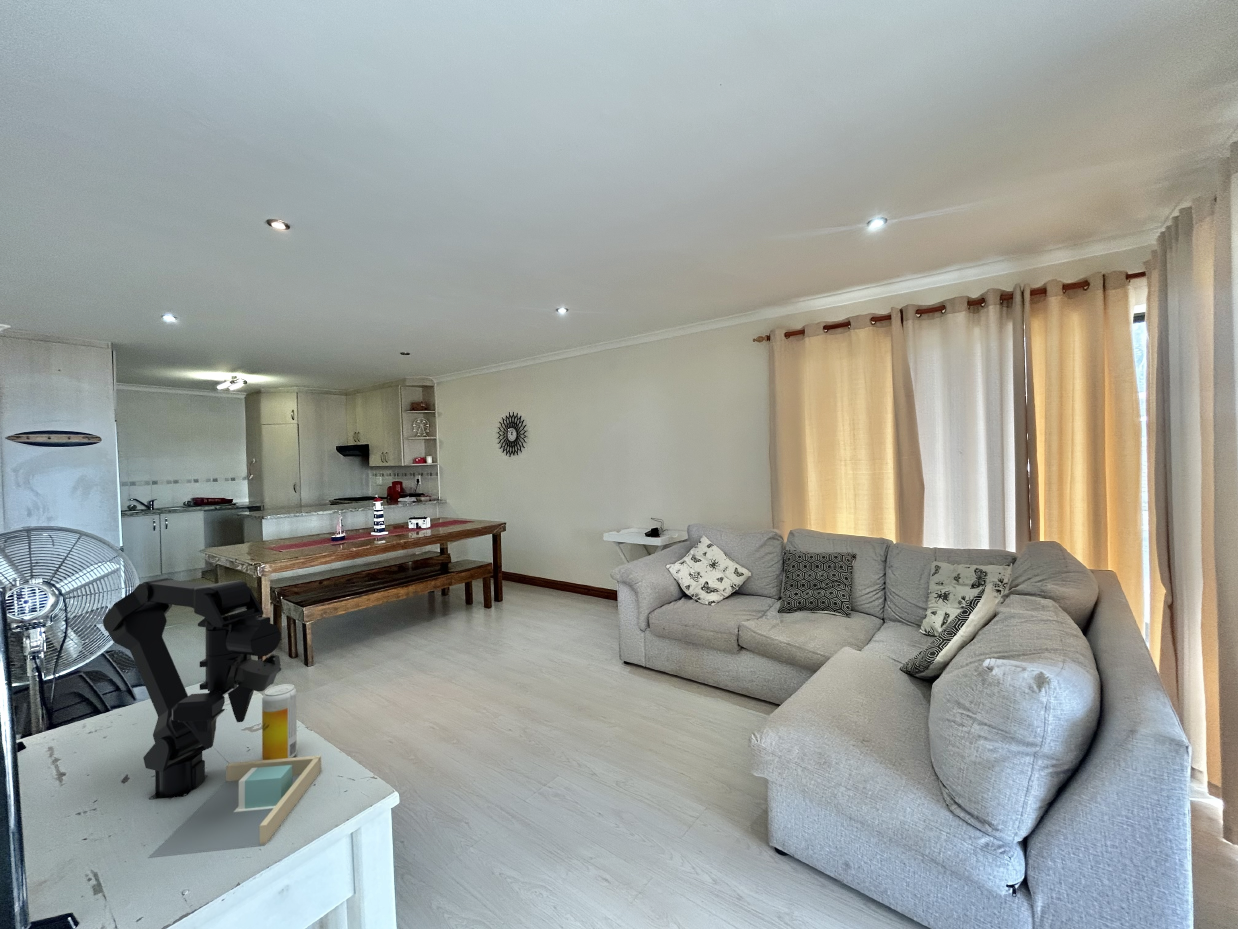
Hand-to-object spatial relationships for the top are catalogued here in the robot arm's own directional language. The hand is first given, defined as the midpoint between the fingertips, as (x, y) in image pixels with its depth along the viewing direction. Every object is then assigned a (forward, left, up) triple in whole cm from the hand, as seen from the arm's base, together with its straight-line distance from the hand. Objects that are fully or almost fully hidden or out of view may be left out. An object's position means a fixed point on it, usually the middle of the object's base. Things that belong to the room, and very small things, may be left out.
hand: (225, 734), depth 93 cm
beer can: (+3, +13, -13) cm, 18 cm away
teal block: (+8, -2, -12) cm, 14 cm away
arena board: (+5, -4, -12) cm, 14 cm away
